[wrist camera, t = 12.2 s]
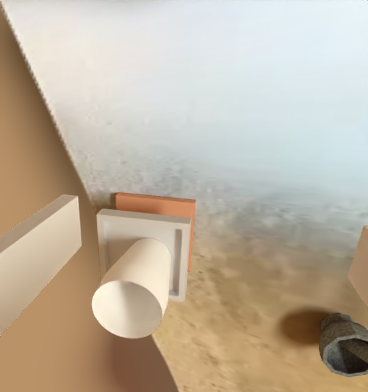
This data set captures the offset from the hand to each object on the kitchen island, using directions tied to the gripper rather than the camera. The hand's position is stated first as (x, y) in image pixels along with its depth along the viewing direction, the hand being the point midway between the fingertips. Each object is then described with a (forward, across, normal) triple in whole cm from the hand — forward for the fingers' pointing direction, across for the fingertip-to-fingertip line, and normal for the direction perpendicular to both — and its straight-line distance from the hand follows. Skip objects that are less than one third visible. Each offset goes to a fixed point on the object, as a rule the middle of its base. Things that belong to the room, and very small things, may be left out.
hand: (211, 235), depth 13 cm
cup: (+26, -9, -19) cm, 34 cm away
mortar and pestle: (+35, +27, -35) cm, 56 cm away
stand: (+35, -10, -19) cm, 41 cm away
